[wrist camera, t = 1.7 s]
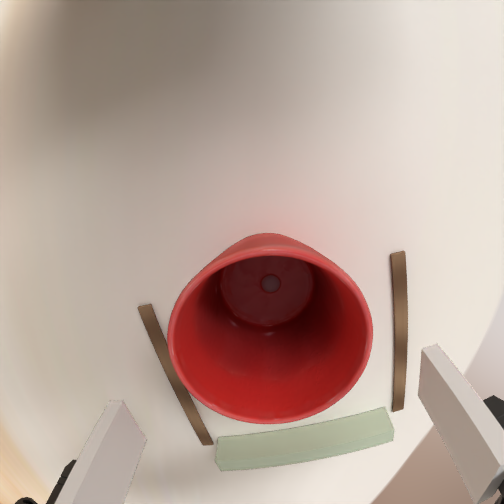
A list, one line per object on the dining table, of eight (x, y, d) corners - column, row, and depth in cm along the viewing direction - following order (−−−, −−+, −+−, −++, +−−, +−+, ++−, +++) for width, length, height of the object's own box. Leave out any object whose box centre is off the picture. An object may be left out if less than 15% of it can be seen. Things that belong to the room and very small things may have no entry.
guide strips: (138, 306, 26) (137, 307, 25) (403, 250, 23) (405, 251, 23) (203, 443, 31) (203, 445, 30) (402, 407, 28) (403, 408, 28)
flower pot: (350, 223, 23) (403, 267, 14) (318, 347, 26) (339, 430, 17) (208, 199, 23) (172, 230, 14) (194, 330, 26) (166, 410, 17)
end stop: (218, 437, 30) (215, 461, 27) (384, 406, 28) (394, 429, 25) (223, 447, 31) (220, 471, 27) (384, 418, 29) (393, 440, 26)
